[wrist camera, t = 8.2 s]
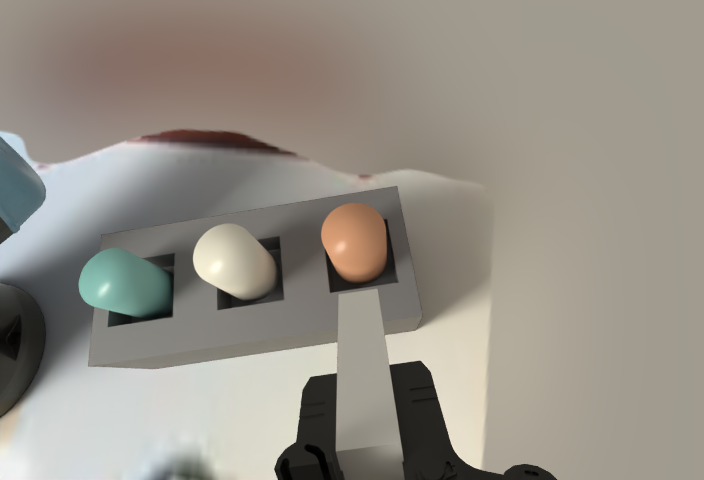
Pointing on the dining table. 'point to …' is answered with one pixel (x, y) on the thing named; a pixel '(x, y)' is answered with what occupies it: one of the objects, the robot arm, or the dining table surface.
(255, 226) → the button console
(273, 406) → the dining table surface
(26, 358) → the robot arm
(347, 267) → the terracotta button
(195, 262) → the cream button
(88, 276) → the teal button
